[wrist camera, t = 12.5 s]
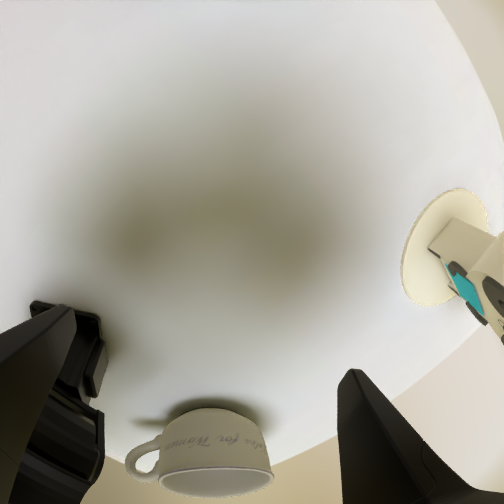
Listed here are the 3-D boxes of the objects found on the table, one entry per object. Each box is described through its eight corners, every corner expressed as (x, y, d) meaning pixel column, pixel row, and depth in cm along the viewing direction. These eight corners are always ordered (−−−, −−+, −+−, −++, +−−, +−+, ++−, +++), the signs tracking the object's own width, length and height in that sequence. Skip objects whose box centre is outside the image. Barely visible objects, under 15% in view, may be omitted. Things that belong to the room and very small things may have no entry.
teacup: (275, 398, 26) (292, 467, 19) (246, 447, 30) (255, 502, 23) (130, 380, 23) (117, 454, 16) (131, 434, 27) (125, 492, 20)
